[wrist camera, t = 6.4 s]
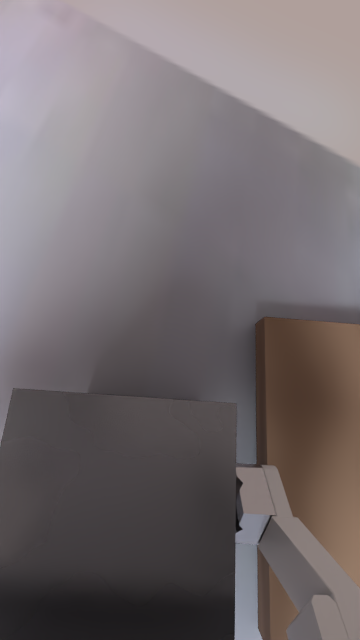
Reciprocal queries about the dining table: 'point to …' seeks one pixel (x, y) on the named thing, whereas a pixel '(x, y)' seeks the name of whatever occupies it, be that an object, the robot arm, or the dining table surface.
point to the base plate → (309, 443)
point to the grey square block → (117, 518)
